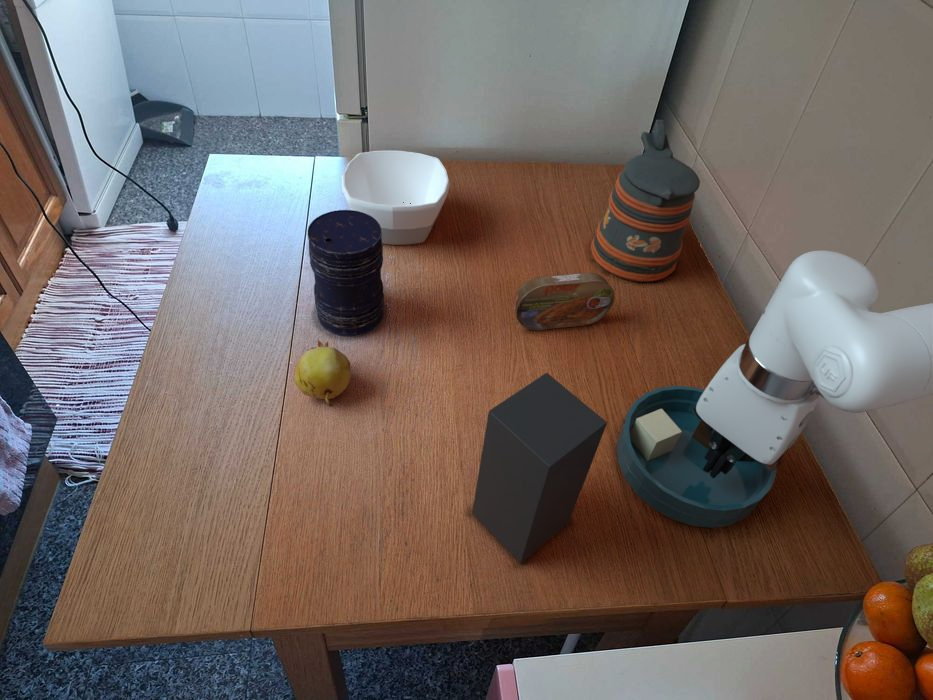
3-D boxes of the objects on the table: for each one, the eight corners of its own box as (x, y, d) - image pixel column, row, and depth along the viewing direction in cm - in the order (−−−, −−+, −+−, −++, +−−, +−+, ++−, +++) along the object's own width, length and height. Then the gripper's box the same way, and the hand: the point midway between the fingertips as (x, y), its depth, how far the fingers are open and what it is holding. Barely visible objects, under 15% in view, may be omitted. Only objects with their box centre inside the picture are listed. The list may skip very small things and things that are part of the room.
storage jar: (352, 283, 101) (347, 200, 90) (398, 313, 97) (398, 231, 86) (302, 314, 95) (290, 230, 84) (348, 347, 91) (342, 264, 80)
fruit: (358, 386, 79) (352, 328, 85) (300, 382, 76) (298, 323, 83) (346, 420, 83) (342, 363, 90) (291, 418, 81) (291, 359, 87)
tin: (513, 333, 96) (521, 289, 90) (508, 318, 98) (515, 275, 92) (608, 324, 99) (621, 281, 92) (601, 310, 101) (614, 267, 95)
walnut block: (734, 440, 84) (746, 422, 81) (717, 456, 82) (729, 438, 79) (708, 421, 86) (719, 402, 83) (691, 436, 84) (701, 417, 81)
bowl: (447, 199, 119) (450, 152, 112) (446, 259, 106) (450, 211, 100) (350, 193, 118) (347, 146, 111) (338, 253, 105) (333, 204, 99)
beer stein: (582, 214, 119) (608, 109, 104) (660, 219, 119) (696, 117, 105) (596, 280, 106) (627, 171, 91) (684, 286, 106) (728, 179, 92)
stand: (569, 522, 74) (607, 422, 61) (520, 564, 70) (549, 467, 57) (520, 476, 78) (546, 372, 65) (471, 513, 74) (488, 410, 61)
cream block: (672, 450, 82) (682, 431, 79) (647, 461, 81) (656, 442, 78) (652, 427, 85) (661, 408, 82) (628, 437, 83) (636, 418, 80)
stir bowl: (788, 473, 82) (804, 452, 78) (707, 559, 73) (722, 540, 69) (671, 386, 91) (681, 365, 87) (586, 454, 81) (594, 432, 78)
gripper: (867, 393, 63) (786, 493, 76) (735, 309, 70) (681, 414, 83) (832, 431, 59) (752, 530, 72) (696, 339, 66) (646, 443, 79)
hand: (714, 467), depth 78 cm, fingers closed
